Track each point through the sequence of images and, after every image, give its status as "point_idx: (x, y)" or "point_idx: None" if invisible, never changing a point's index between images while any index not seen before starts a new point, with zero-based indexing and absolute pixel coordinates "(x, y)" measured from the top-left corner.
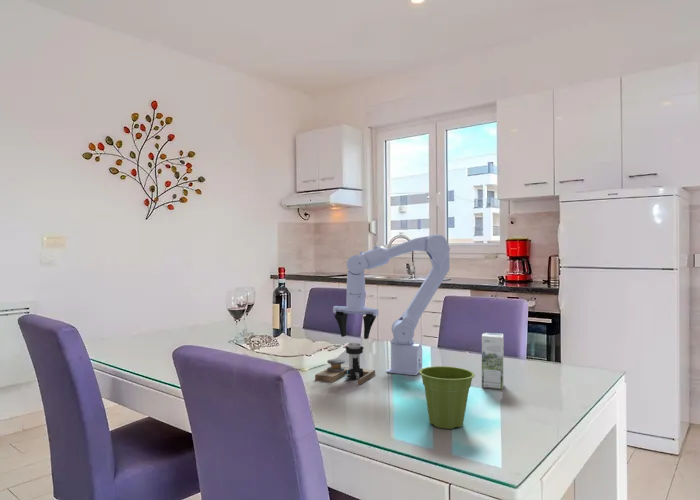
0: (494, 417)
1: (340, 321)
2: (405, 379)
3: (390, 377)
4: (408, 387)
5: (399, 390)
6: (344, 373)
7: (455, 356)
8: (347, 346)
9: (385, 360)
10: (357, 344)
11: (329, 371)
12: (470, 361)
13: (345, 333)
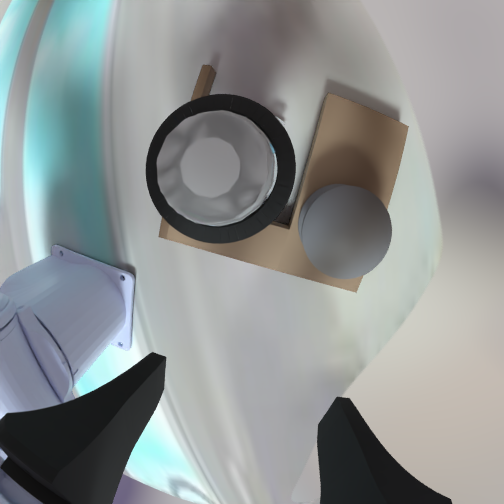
0: (2, 23)
1: (388, 484)
2: (71, 195)
3: (111, 210)
4: (63, 107)
5: (85, 68)
6: (294, 206)
7: None
8: (282, 201)
9: (181, 415)
10: (179, 153)
11: (362, 184)
12: None
13: (321, 434)
